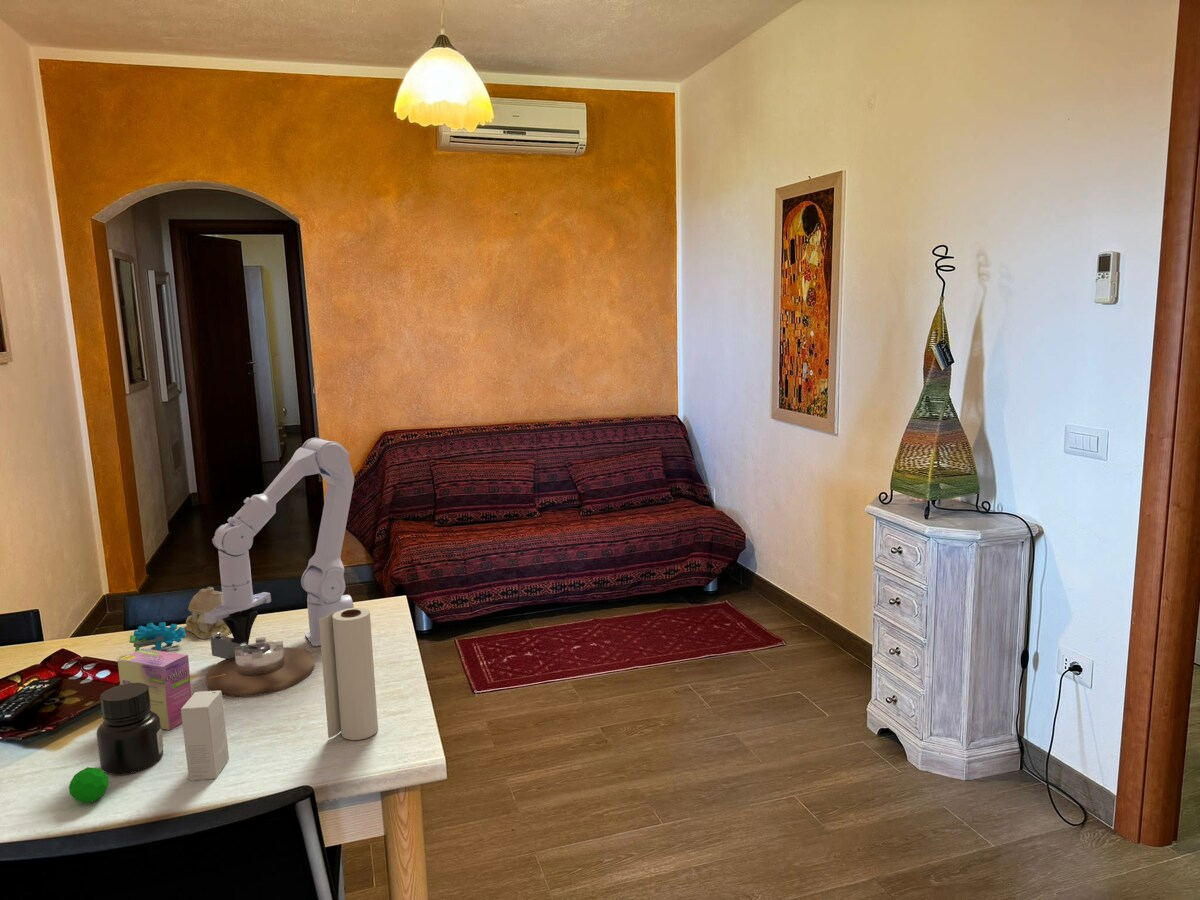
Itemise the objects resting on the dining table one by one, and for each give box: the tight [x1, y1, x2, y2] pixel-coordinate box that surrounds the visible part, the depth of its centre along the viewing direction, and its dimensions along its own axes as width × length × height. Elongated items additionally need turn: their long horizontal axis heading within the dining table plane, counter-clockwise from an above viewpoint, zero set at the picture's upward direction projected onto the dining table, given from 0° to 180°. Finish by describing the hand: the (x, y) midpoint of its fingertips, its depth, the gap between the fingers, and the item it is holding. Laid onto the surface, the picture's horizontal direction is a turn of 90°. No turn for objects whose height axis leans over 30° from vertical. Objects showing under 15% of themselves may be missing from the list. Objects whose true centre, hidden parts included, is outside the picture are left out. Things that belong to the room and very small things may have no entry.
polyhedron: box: [68, 766, 110, 804], centre depth 126 cm, size 5×5×5 cm
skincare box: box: [181, 690, 230, 781], centre depth 132 cm, size 6×4×12 cm
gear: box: [128, 621, 187, 652], centre depth 181 cm, size 11×6×10 cm
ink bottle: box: [96, 683, 164, 775], centre depth 136 cm, size 10×9×12 cm
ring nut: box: [209, 631, 285, 676], centre depth 171 cm, size 18×9×5 cm, turn 62°
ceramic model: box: [185, 586, 232, 639], centre depth 194 cm, size 14×11×10 cm
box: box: [117, 647, 193, 731], centre depth 150 cm, size 10×6×12 cm, turn 71°
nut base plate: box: [205, 646, 315, 697], centre depth 169 cm, size 20×20×2 cm
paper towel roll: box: [319, 607, 379, 741], centre depth 143 cm, size 7×6×21 cm
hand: (242, 645), depth 175 cm, fingers closed
